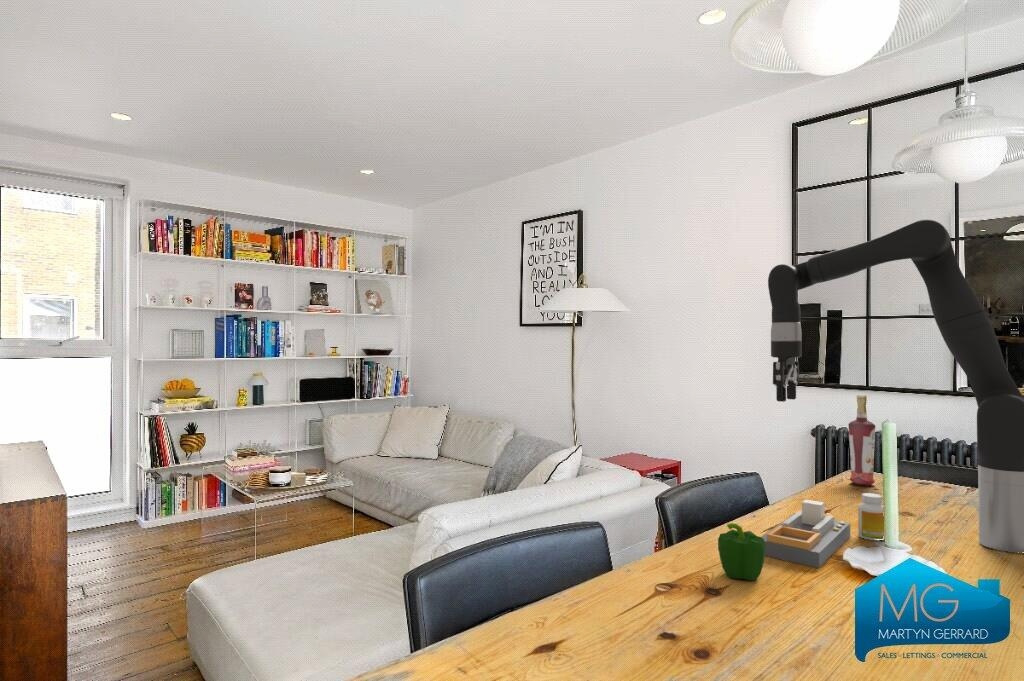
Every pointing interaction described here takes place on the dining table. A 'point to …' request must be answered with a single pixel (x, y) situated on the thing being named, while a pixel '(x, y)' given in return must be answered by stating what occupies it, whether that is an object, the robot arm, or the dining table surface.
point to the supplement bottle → (871, 517)
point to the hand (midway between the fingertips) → (786, 400)
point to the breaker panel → (806, 540)
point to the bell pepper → (741, 553)
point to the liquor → (862, 446)
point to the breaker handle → (812, 512)
